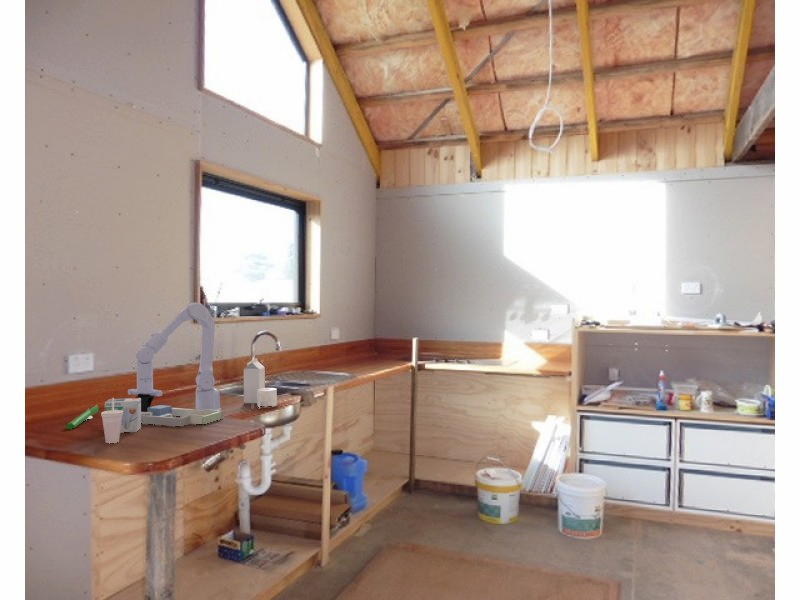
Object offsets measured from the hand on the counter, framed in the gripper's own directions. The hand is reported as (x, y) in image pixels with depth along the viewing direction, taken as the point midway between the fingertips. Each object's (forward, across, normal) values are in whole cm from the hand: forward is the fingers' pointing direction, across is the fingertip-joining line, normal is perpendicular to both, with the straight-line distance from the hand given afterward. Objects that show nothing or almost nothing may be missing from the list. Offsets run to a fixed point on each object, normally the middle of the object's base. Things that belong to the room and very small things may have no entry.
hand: (145, 414), depth 224 cm
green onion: (+2, -17, -12) cm, 21 cm away
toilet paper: (+2, +32, +34) cm, 46 cm away
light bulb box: (+1, +10, -22) cm, 24 cm away
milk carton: (+2, +23, +40) cm, 47 cm away
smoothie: (+1, +19, -36) cm, 40 cm away
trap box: (+1, +16, -3) cm, 17 cm away
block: (+1, +7, 0) cm, 7 cm away
